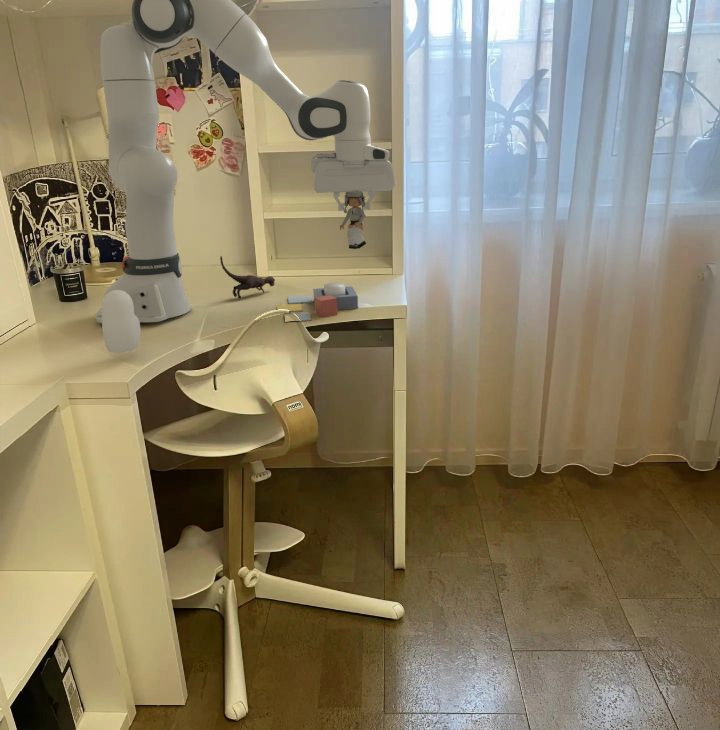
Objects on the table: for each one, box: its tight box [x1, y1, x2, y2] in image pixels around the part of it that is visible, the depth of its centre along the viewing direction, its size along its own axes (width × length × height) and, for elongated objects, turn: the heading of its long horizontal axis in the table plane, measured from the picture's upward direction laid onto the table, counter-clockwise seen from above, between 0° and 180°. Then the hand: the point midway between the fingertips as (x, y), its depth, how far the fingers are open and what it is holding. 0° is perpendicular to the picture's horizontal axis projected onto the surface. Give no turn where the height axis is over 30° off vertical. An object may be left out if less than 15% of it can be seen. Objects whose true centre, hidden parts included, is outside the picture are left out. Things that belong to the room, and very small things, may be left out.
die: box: [313, 295, 338, 318], centre depth 156 cm, size 4×4×4 cm
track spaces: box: [287, 295, 314, 322], centre depth 164 cm, size 15×26×1 cm, turn 8°
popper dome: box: [323, 282, 346, 296], centre depth 164 cm, size 5×5×4 cm
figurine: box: [101, 290, 141, 354], centre depth 136 cm, size 7×8×12 cm
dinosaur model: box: [219, 255, 276, 300], centre depth 172 cm, size 4×12×15 cm, turn 132°
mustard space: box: [276, 303, 303, 313], centre depth 162 cm, size 6×6×1 cm
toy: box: [339, 190, 367, 250], centre depth 168 cm, size 7×6×15 cm
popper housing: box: [313, 285, 359, 310], centre depth 164 cm, size 10×10×3 cm
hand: (354, 210), depth 167 cm, fingers closed on toy, 5 cm apart
